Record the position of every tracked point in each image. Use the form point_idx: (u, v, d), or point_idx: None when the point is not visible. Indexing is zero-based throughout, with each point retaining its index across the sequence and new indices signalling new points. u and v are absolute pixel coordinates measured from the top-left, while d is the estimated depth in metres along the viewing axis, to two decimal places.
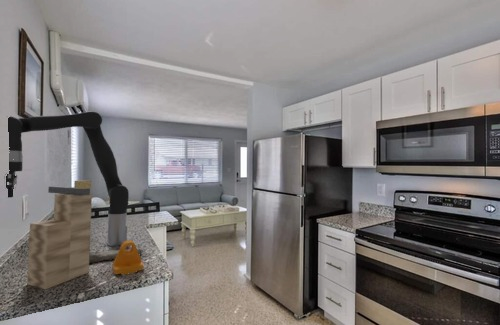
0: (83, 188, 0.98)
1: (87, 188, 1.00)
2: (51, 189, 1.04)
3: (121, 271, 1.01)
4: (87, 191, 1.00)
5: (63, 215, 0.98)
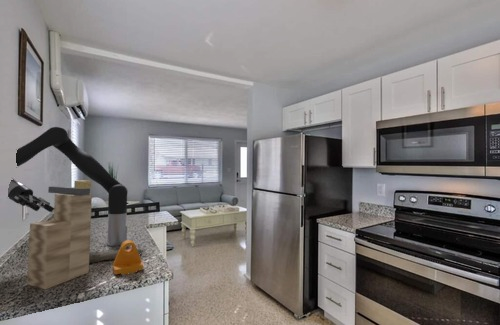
0: (83, 188, 0.98)
1: (87, 188, 1.00)
2: (51, 189, 1.04)
3: (121, 271, 1.01)
4: (87, 191, 1.00)
5: (63, 215, 0.98)
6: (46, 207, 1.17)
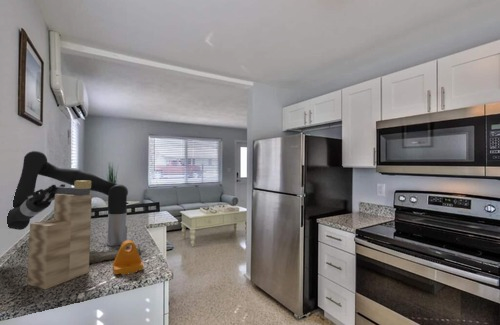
0: (83, 188, 0.98)
1: (87, 188, 1.00)
2: None
3: (121, 271, 1.01)
4: (87, 191, 1.00)
5: (63, 215, 0.98)
6: None
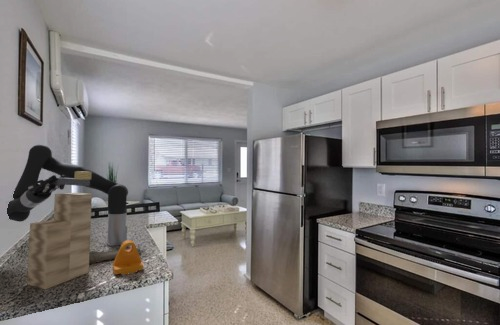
0: (83, 179, 0.98)
1: (87, 178, 1.00)
2: None
3: (121, 271, 1.01)
4: (87, 182, 1.00)
5: (63, 215, 0.98)
6: None
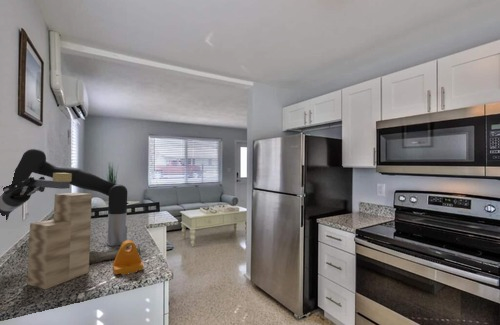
0: (62, 181, 0.91)
1: (67, 181, 0.93)
2: None
3: (121, 271, 1.01)
4: (67, 184, 0.92)
5: (63, 215, 0.98)
6: None
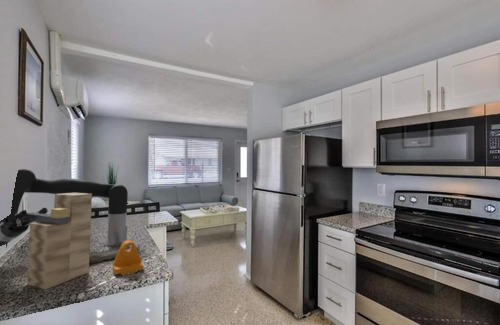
0: (60, 217, 0.91)
1: (65, 216, 0.92)
2: (27, 217, 0.96)
3: (121, 271, 1.01)
4: (65, 220, 0.92)
5: None
6: None
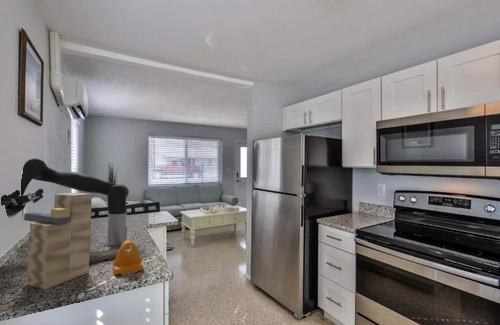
0: (60, 217, 0.91)
1: (65, 216, 0.92)
2: (27, 217, 0.96)
3: (121, 271, 1.01)
4: (65, 220, 0.92)
5: None
6: (37, 193, 1.12)
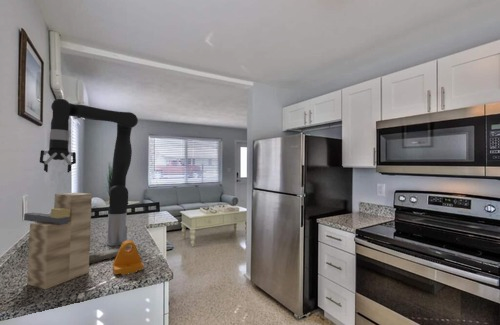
0: (60, 217, 0.91)
1: (65, 216, 0.92)
2: (27, 217, 0.96)
3: (121, 271, 1.01)
4: (65, 220, 0.92)
5: None
6: None
